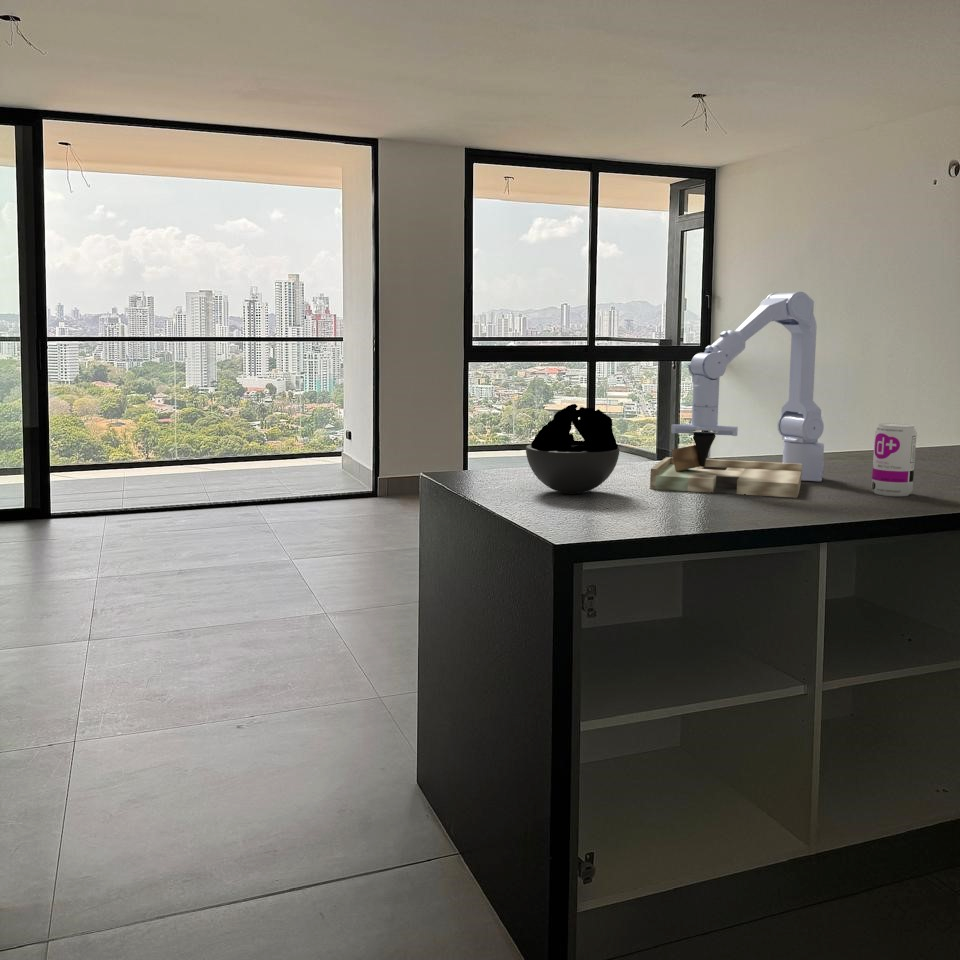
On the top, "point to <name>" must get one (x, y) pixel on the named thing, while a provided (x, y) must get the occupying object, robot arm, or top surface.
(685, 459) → the walnut block
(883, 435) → the supplement can
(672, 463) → the wooden tray
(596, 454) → the bowl of black rocks
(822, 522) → the top surface
